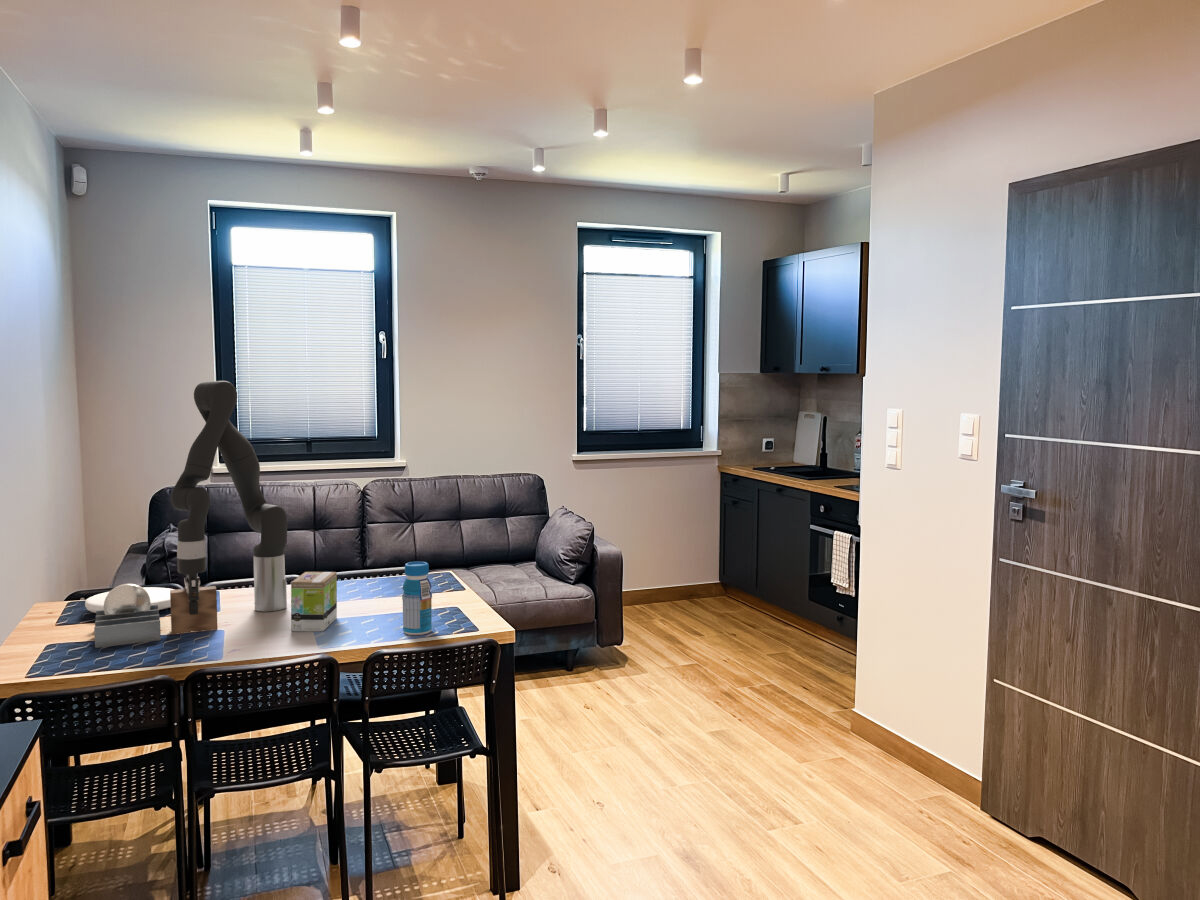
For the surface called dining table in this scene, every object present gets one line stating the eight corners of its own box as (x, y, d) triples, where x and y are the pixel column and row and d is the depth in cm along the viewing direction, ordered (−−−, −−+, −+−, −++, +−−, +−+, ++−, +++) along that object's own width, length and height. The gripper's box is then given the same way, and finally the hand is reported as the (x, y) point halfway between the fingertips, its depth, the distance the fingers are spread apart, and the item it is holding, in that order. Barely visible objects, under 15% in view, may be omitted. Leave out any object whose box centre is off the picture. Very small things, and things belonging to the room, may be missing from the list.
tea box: (325, 632, 259) (324, 581, 258) (290, 632, 258) (289, 581, 257) (337, 618, 274) (337, 570, 273) (304, 618, 273) (303, 570, 272)
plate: (130, 582, 299) (201, 587, 294) (129, 602, 299) (200, 607, 294) (64, 593, 272) (141, 598, 266) (63, 615, 272) (140, 620, 266)
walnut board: (216, 625, 265) (215, 585, 264) (217, 629, 261) (216, 588, 260) (171, 631, 259) (170, 590, 258) (172, 634, 255) (170, 593, 254)
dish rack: (158, 622, 267) (157, 579, 266) (160, 640, 250) (159, 593, 249) (97, 629, 260) (95, 584, 259) (95, 648, 242) (93, 599, 241)
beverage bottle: (402, 636, 254) (401, 567, 253) (402, 628, 263) (402, 561, 261) (432, 635, 256) (431, 566, 254) (432, 627, 264) (431, 560, 263)
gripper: (207, 558, 254) (208, 615, 255) (204, 550, 266) (205, 604, 267) (178, 561, 250) (179, 618, 251) (176, 552, 263) (177, 606, 264)
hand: (192, 611), depth 259 cm, fingers open, 8 cm apart
